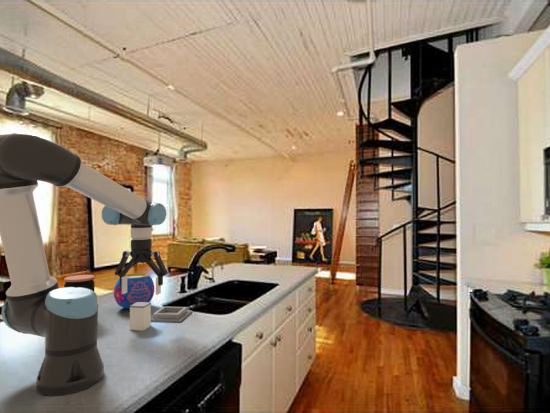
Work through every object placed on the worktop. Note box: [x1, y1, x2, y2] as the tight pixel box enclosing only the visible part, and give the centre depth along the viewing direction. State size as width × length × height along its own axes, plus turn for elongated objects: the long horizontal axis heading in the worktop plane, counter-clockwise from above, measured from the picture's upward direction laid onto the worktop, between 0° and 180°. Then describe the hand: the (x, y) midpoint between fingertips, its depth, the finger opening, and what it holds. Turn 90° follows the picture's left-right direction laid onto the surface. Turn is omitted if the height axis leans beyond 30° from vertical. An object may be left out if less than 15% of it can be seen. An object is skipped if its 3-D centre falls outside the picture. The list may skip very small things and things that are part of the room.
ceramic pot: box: [113, 272, 156, 310], centre depth 153 cm, size 18×18×15 cm
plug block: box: [129, 301, 152, 331], centre depth 127 cm, size 6×6×9 cm
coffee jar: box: [63, 274, 95, 292], centre depth 133 cm, size 11×11×18 cm
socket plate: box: [151, 306, 193, 324], centre depth 140 cm, size 14×14×3 cm
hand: (141, 293), depth 127 cm, fingers open, 13 cm apart
